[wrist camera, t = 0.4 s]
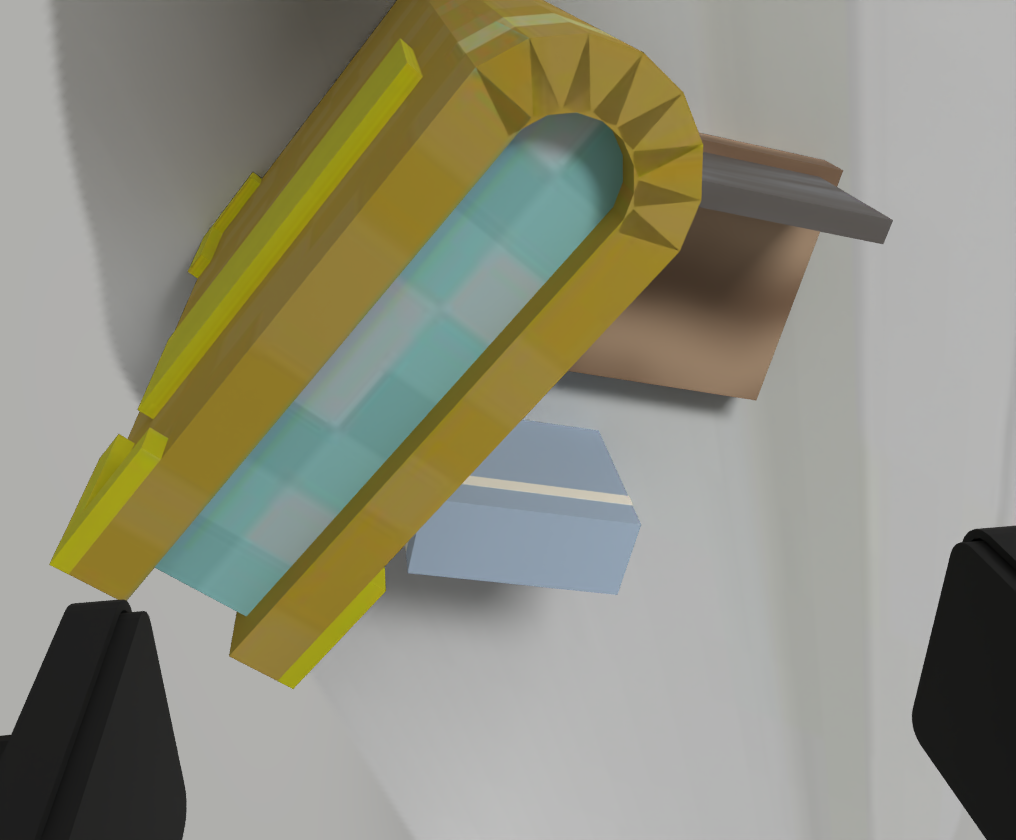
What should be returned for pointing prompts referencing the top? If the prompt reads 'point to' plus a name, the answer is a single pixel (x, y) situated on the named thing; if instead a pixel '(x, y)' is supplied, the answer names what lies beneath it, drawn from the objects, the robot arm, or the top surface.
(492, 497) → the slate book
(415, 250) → the book
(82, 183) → the top surface
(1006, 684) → the robot arm
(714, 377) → the brown l-shaped piece
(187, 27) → the top surface
